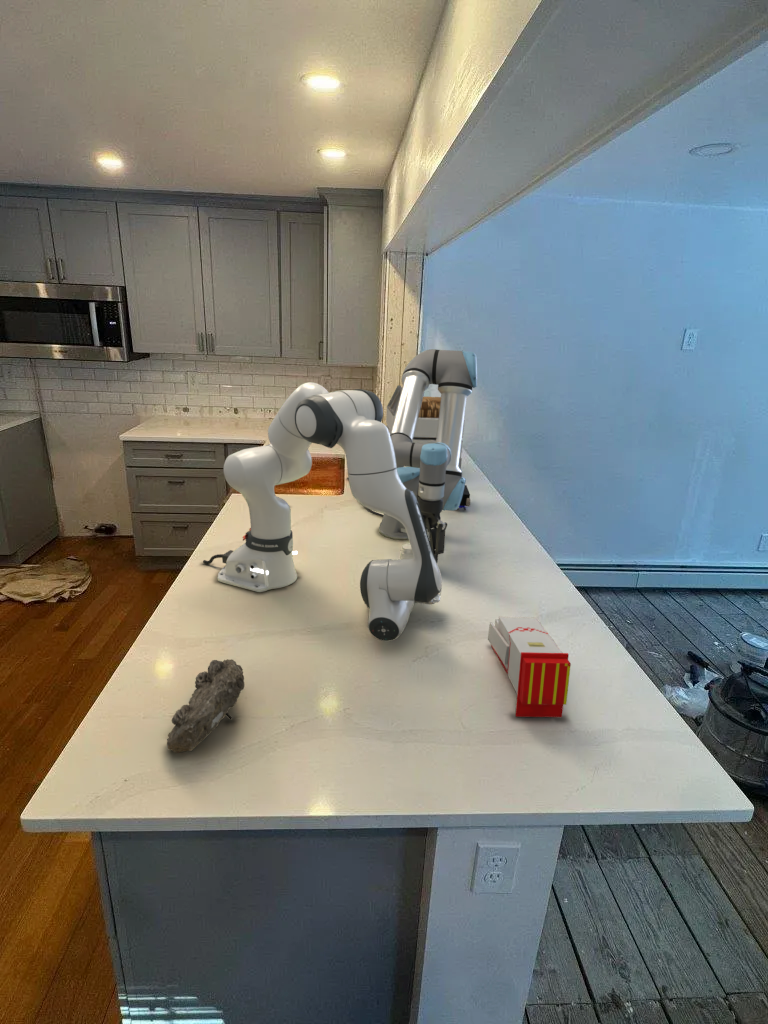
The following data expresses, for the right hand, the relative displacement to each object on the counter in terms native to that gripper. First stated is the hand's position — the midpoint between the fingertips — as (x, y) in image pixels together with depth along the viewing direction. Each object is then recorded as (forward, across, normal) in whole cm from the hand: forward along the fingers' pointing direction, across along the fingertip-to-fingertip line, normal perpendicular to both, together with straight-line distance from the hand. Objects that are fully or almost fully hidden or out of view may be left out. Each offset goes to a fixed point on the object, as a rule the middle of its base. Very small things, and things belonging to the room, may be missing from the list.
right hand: (425, 569), depth 174 cm
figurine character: (-1, -37, +51) cm, 63 cm away
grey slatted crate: (-1, -83, +68) cm, 108 cm away
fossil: (+1, +28, -78) cm, 83 cm away
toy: (0, +52, -17) cm, 55 cm away
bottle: (0, +11, -16) cm, 20 cm away
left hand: (-6, +10, -16) cm, 20 cm away
